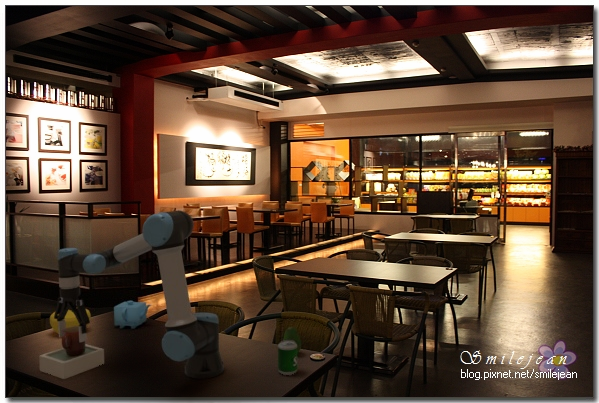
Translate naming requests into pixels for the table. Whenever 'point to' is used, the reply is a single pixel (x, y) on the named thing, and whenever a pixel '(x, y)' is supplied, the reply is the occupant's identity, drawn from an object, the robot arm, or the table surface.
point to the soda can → (287, 357)
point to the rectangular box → (71, 362)
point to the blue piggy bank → (130, 314)
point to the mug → (72, 341)
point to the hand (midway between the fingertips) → (72, 338)
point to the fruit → (293, 337)
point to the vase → (67, 320)
